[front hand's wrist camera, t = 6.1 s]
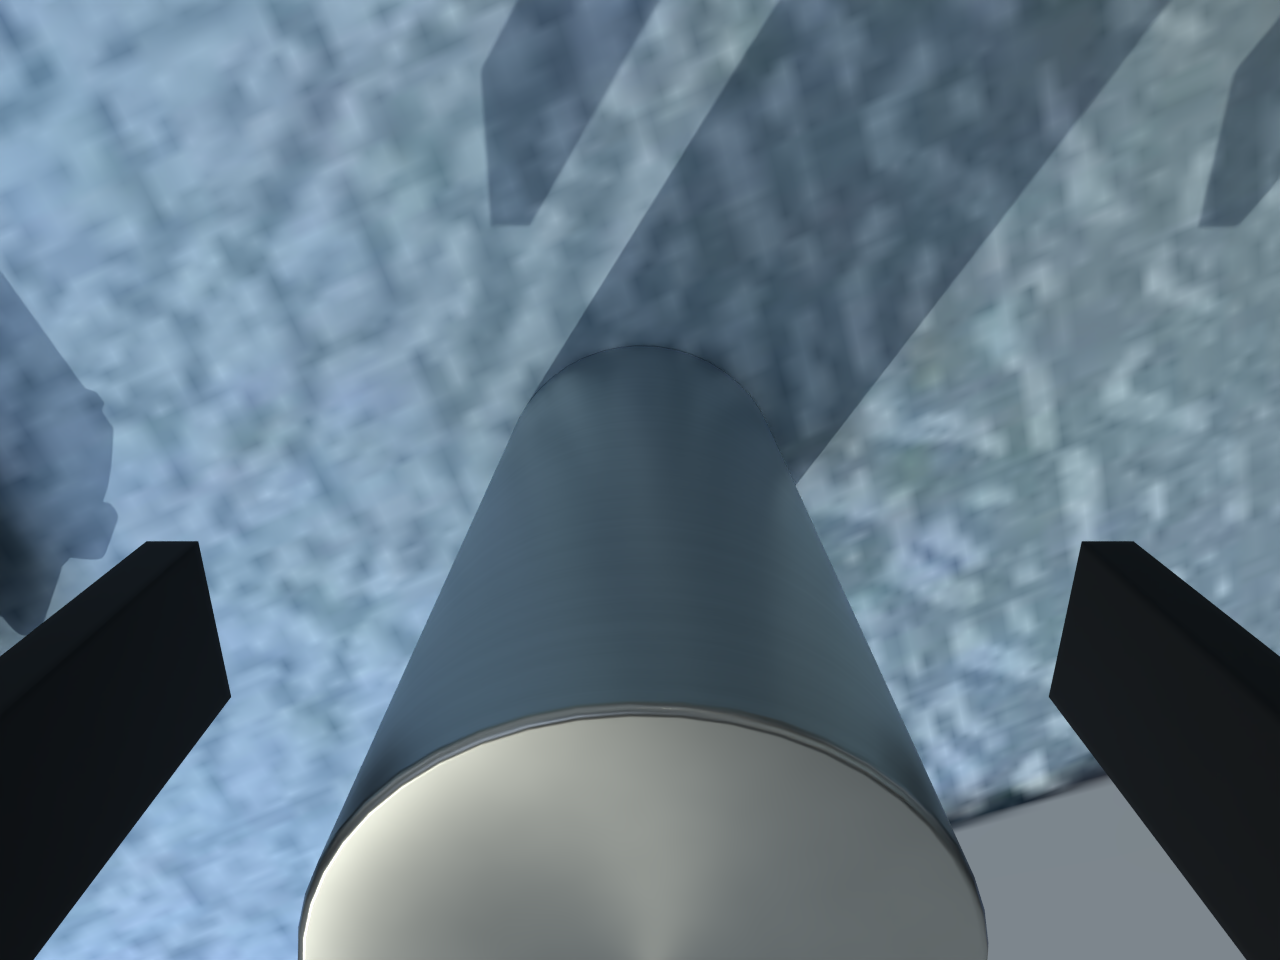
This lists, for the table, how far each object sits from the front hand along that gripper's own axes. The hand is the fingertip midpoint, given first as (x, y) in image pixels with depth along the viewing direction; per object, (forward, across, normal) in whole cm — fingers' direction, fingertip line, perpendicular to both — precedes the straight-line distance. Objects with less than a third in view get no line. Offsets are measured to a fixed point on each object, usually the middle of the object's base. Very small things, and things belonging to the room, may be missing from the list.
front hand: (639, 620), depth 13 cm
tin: (+6, 0, 0) cm, 6 cm away
